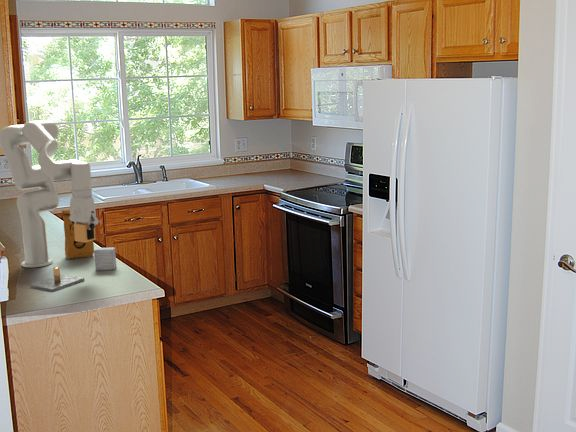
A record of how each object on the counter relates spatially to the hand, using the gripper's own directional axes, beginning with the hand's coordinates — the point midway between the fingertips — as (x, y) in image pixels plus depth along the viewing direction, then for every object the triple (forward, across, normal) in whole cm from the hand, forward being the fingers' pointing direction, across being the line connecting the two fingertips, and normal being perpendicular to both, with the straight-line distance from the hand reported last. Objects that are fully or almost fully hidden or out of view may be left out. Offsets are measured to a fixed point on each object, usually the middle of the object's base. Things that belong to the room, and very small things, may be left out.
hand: (85, 237), depth 278 cm
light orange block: (+1, 0, 0) cm, 1 cm away
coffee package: (+17, -26, +21) cm, 38 cm away
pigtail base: (+16, -2, -13) cm, 21 cm away
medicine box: (+16, -1, +11) cm, 20 cm away
